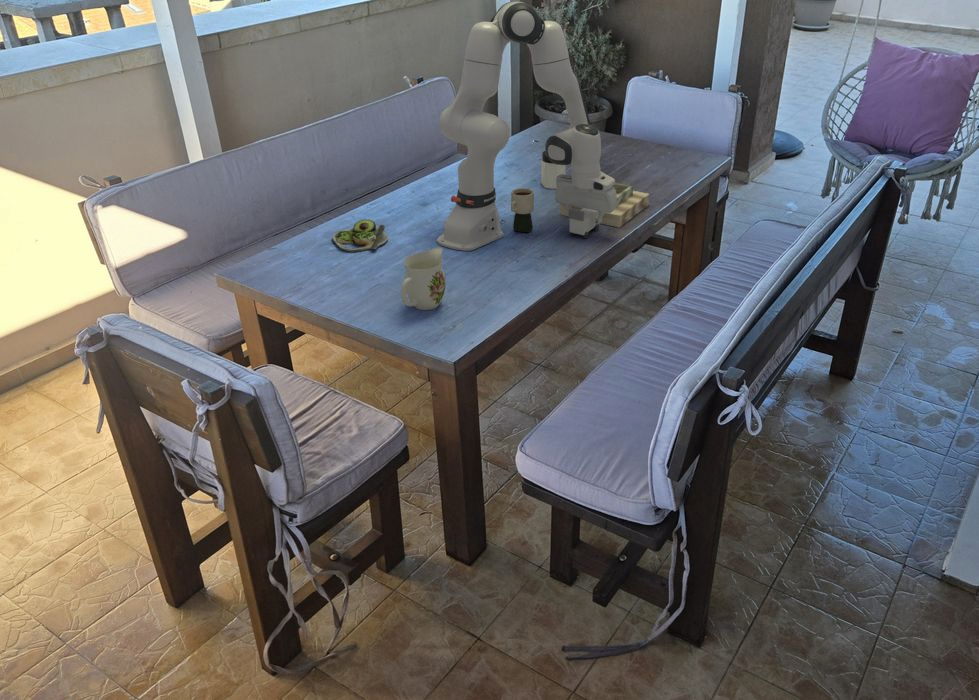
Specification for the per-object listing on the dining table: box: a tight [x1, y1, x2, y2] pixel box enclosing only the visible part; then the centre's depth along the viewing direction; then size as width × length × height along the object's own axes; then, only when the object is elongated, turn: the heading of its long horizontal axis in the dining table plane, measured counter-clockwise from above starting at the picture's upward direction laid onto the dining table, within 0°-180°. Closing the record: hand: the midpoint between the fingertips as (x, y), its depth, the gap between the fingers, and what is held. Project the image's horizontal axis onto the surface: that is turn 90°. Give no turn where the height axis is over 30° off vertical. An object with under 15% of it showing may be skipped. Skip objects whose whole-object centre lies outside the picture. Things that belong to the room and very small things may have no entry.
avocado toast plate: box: [331, 218, 389, 253], centre depth 268 cm, size 19×18×5 cm
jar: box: [540, 150, 567, 190], centre depth 303 cm, size 9×8×12 cm
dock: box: [559, 182, 650, 228], centre depth 283 cm, size 22×22×7 cm
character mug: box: [510, 187, 535, 233], centre depth 269 cm, size 11×7×13 cm, turn 139°
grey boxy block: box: [568, 208, 600, 239], centre depth 267 cm, size 11×6×10 cm, turn 146°
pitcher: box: [400, 247, 446, 311], centre depth 227 cm, size 11×18×14 cm, turn 147°
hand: (584, 220), depth 268 cm, fingers open, 8 cm apart
